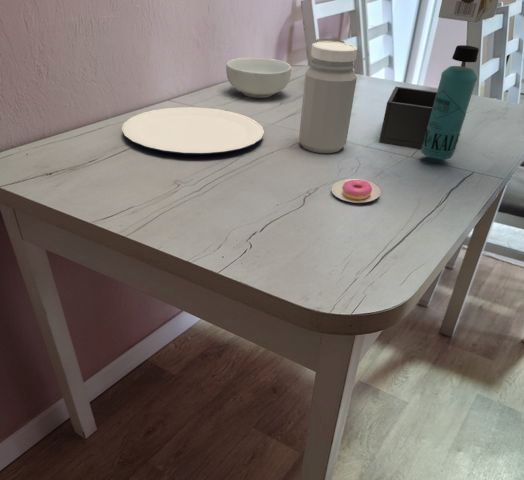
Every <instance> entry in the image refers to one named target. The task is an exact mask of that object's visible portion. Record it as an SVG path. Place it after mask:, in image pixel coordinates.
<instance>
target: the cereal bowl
mask: <svg viewBox="0 0 524 480" xmlns="http://www.w3.org/2000/svg"><path fill="white" fill-rule="evenodd" d="M225 69H226V70H225V71H226V78H227V80H228V82H229V85H231V87H232V88H234V89H235V90H236V91H238V92H241V93H242V94H243V96H246V97H248V98H255V99H265V98H266V99H268V98H271V97H273V95H274V94H277V93H280V92H281V91H283V90H284V89H285V88H286V87H287V86H288V84H289V82H290V81H291V74H292V65H291V64H289V63H288V62H287V61H284V60H280V59H274V58H268V57H254V56H253V57H252V56H251V57H238V58H233V59H230V60H228V61H226V64H225Z"/></svg>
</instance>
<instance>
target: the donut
mask: <svg viewBox="0 0 524 480" xmlns="http://www.w3.org/2000/svg"><path fill="white" fill-rule="evenodd" d="M373 182H374V180H372V181H369V180H365V179H360V178H348V179H342V180H339V181H337V182H335V183H333V185H332V186H331V193H332V194H333V196H335V197H336V198H338V199H339V200H340V201H341V200H342V201H344V202H347V203H348V202H349V203H353V204H362V203H363V204H364V203H369V202H372V201H375V200H376V199H378V198H379V197H380V196H381V191H382V190H381V188H380V187H379V186H378V185H377V184H375V183H373Z"/></svg>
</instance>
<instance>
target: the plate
mask: <svg viewBox="0 0 524 480" xmlns="http://www.w3.org/2000/svg"><path fill="white" fill-rule="evenodd" d="M121 131H122V133H123V136H124V137H125V138H126V139H128V140H129V141H130V142H132V143H134V144H136V145H139V146H140V147H141V146H142V147H143V148H146V149H150V150H154V151H157V152H158V151H159V152H163V153H171V154H179V155H213V154H215V155H217V154H225V153H231V152H236V151H241V150H243V149H245V148H249V147H252V146H254V145H255V144H257V143H258V142H259V141H261V140H262V139H263V137H264V135H265V130H264V128H263V125H261V124H260V123H259V122H257V121H256V120H254V119H253V118H250V117H249V116H247V115H244V114H241V113H238V112H234V111H228V110H223V109H219V108H210V107H192V106H189V107H188V106H181V107H168V108H159V109H152V110H148V111H145V112H140V113H139V114H136V115H134V116H131V117H130V118H129V119H127V120H126V121H125V122H123V124H122V127H121Z"/></svg>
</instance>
